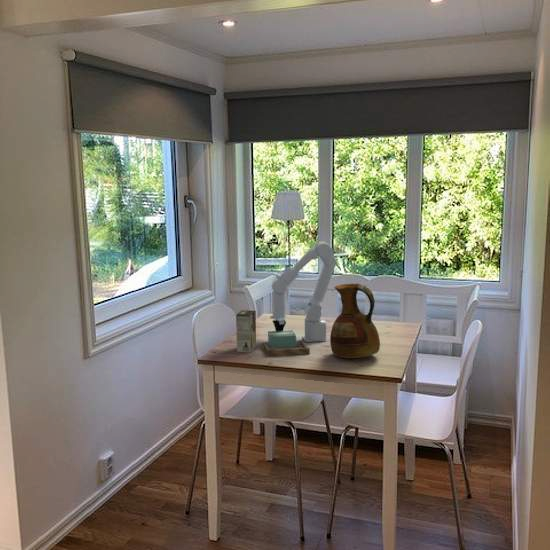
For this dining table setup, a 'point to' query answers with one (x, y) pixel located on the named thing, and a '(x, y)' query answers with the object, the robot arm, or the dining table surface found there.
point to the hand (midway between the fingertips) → (279, 336)
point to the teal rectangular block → (281, 339)
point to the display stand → (287, 350)
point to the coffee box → (246, 331)
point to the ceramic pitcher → (354, 325)
